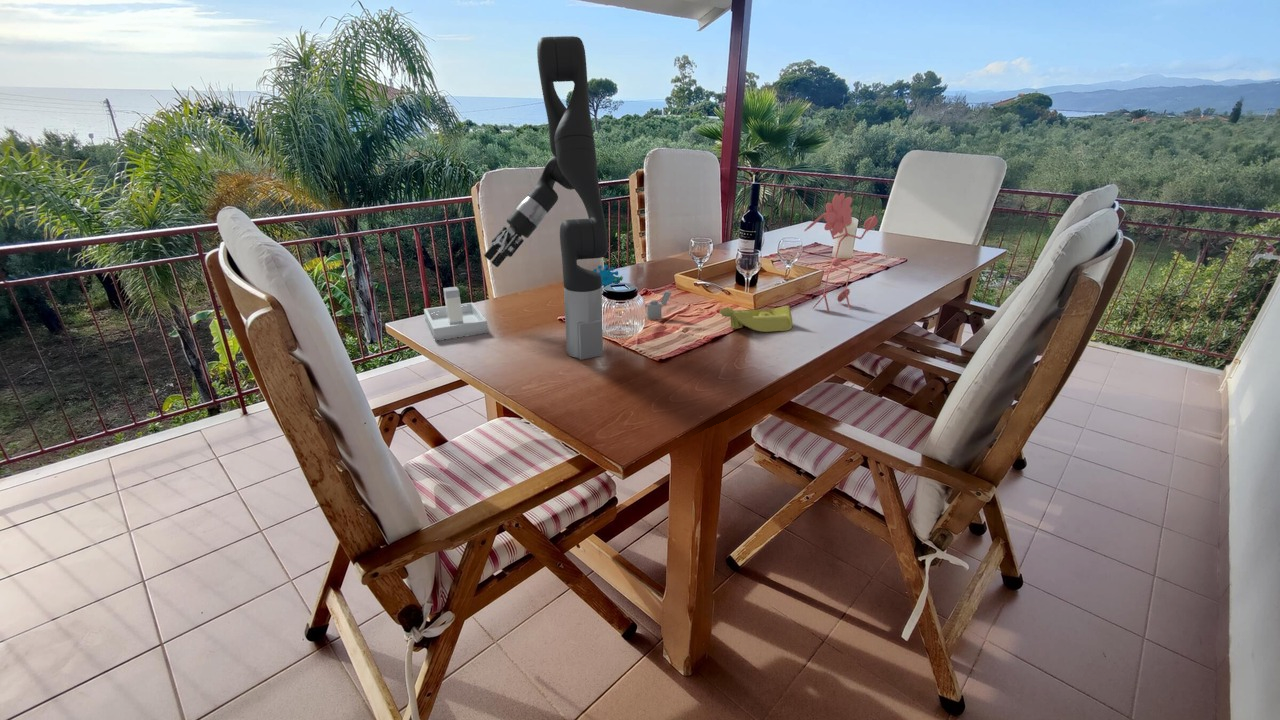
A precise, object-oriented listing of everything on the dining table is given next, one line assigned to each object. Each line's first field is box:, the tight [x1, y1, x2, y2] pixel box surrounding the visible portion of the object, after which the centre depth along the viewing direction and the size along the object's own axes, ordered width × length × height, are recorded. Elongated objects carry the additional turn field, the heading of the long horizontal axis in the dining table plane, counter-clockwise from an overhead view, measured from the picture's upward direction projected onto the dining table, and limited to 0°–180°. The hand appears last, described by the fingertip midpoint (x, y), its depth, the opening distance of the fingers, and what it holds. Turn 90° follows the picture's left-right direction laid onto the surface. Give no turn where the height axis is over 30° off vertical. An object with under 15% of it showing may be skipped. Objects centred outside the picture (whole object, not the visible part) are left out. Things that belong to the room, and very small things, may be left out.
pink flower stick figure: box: [794, 192, 879, 313], centre depth 170 cm, size 15×26×35 cm, turn 118°
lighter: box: [646, 289, 672, 320], centre depth 163 cm, size 7×2×8 cm, turn 106°
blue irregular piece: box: [592, 263, 624, 287], centre depth 192 cm, size 11×6×10 cm
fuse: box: [442, 286, 463, 325], centre depth 153 cm, size 4×4×10 cm
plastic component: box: [719, 305, 794, 333], centre depth 157 cm, size 20×7×10 cm
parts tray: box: [423, 302, 489, 342], centre depth 154 cm, size 18×14×4 cm
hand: (490, 261), depth 153 cm, fingers open, 8 cm apart
